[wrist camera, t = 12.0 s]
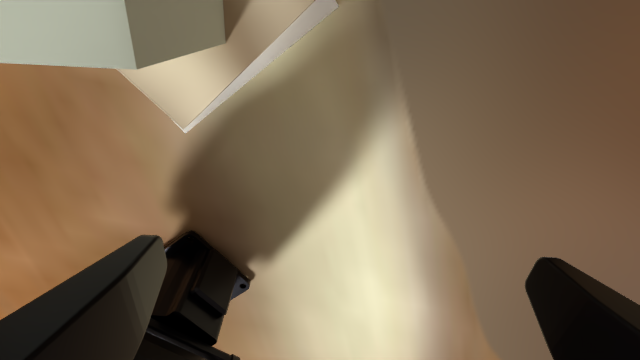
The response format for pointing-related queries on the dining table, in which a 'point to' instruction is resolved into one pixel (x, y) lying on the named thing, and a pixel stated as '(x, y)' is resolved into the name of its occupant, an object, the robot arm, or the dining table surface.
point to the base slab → (273, 51)
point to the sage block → (107, 31)
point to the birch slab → (216, 58)
